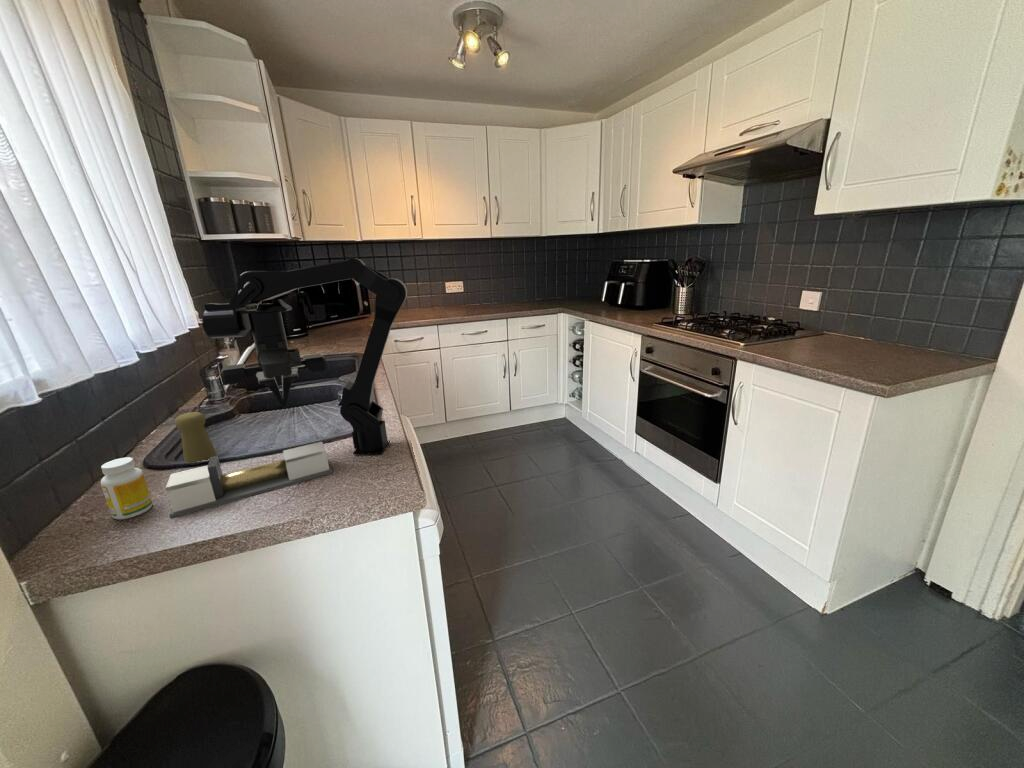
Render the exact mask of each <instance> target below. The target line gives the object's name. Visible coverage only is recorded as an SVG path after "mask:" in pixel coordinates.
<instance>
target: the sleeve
mask: <svg viewBox="0 0 1024 768" xmlns="http://www.w3.org/2000/svg"><path fill="white" fill-rule="evenodd" d="M282 452H283V457H284V460H285V463H286V468H287V472H288V477H289V480H293V479H297V478H300V477H304V476H308V475H312V474H315V473H319V472H323V471H326V470H329V465H328V462H329V460H328V454H327V450H326V448H325V445H324V443H323V441H319V442H313V443H311V444H305V445H301V446H297V447H294V448H288V449H285V450H282Z"/></svg>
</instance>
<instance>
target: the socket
mask: <svg viewBox="0 0 1024 768" xmlns="http://www.w3.org/2000/svg"><path fill="white" fill-rule="evenodd" d="M165 489H166V493H167V496H168V499H169V503H170V506H171V508H172V509H173V512H176V511H180V510H184V509H187V508H191V507H195V506H199V505H202V504H206V503H210V502H213V501H216V497H215V493H214V490H213V486H212V483H211V479H210V475H209V472H208V464H207V465H204V466H199V467H195V468H191V469H186V470H182V471H178V472H173V473H171V474H170V476H169V478H168V481H167V483H166V486H165Z"/></svg>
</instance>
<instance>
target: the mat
mask: <svg viewBox="0 0 1024 768" xmlns="http://www.w3.org/2000/svg"><path fill="white" fill-rule="evenodd" d="M328 465H329V470H326V471H323V472H319V473H315V474H312V475H308V476H304V477H300V478H297V479H293V480H289V477H288V474H287V475H283V476H279V477H276V478H272V479H268V480H264V481H260V482H257V483H253V484H249V485H245V486H241V487H238V488H234V489H230V490H226V491H225V492H224V496H223V497H219V498H216V501H213V502H210V503H206V504H202V505H199V506H195V507H191V508H187V509H184V510H180V511H176V512H173V509H172V507H170V508H171V509H170V510H169V511H170V512H169V515H168V516H169V519H172V518H176V517H179V516H182V515H186V514H190V513H193V512H197V511H200V510H204V509H208V508H211V507H214V506H219V505H222V504H226V503H230V502H233V501H238V500H240V499H244V498H248V497H251V496H256V495H259V494H262V493H266V492H267V493H268V492H271V491H274V490H277V489H281V488H284V487H287V486H292V485H294V484H295V485H296V484H299V483H303V482H305V481H310V480H313V479H317V478H320V477H325V476H328V475H331V474H333V469H332V467H331V464H330V463H329V461H328ZM215 497H216V496H215Z"/></svg>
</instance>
